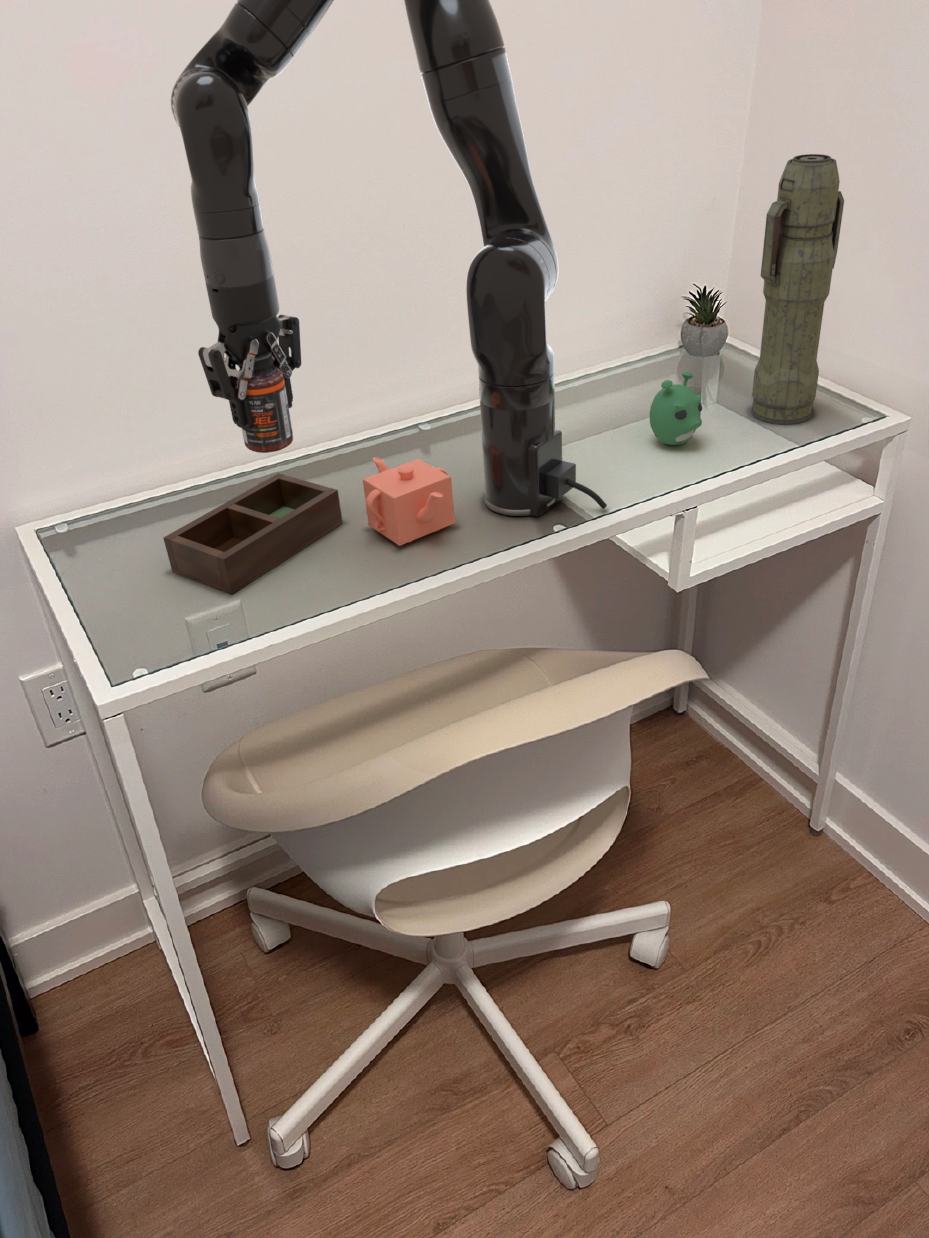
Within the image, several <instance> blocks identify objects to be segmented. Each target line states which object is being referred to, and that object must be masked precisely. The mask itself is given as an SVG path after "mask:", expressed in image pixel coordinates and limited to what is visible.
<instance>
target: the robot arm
mask: <svg viewBox="0 0 929 1238" xmlns="http://www.w3.org/2000/svg"><path fill="white" fill-rule="evenodd" d="M334 1H335V0H237V1H236V3H234V5H233V6H232V8H231V10H230V11H229V13H228V15H227V16H226V18H225V20H224V21H223V23H222V25H221V26H220V27H219V28H218V30H217V31H216V32H215V33H214V34H213V35H211V37H210V38H209V39H208V41H207V42H206V43H205V44H204V45H203V46H201V48H200V49H199V51H197V53H196V54H195V55H194V57H193V58H192V59H191V60H190V61H189V63H188V64H187V65H186V66H185V68H184V69H183V71H182V72H181V73H180V75H179V76H178V77H177V79H176V81H175V83H174V85H173V87H172V90H171V94H170V110H171V114H172V116H173V119H174V121H175V123H176V125H177V126H178V127H179V130H180V133H181V138H182V142H183V146H184V152H185V155H186V156H185V157H186V160H187V165H188V169H189V174H190V178H191V183H190V184H191V185H190V195H191V196H190V197H191V204H192V210H193V214H194V221H195V226H196V230H197V235H198V241H199V256H200V262H201V268H202V272H203V277H204V282H205V288H206V292H207V297H208V302H209V307H210V312H211V317H212V319H213V321H214V323H215V324H216V326H217V328H218V335H217V342H215V343H214V344H212V345H211V346H208V347H206V346H201V347H200V348H199V349H198V352H197V355H198V358H199V360H200V364H201V366H202V369H203V371H204V372H203V373H204V375H205V378H206V381H207V384H208V387H209V390H210V392H211V395H212V396H213V397H216V398H220V399H224V400H228V403H229V408H230V413H231V418H232V422H233V423H234V425H236V426H237V427H238V428H240V429H242V428H244V429H249V428H251V427H253V420H252V415H251V410H250V405H249V399H248V398H246V394H247V387H248V381H249V380H251V379H252V375H253V369H254V362H255V358H256V357H258V356H261V355H263V354H265V353H268V352H271V353H272V358H273V365H274V366H275V367H277V368H279V369H280V370H281V371H282V373H283V376H284V382H285V388H286V394H287V401H288V407H289V409H291V408H293V401H294V396H293V395H294V394H293V390H292V389H293V388H292V381H291V377H292V375H293V371H294V370H295V369H299V368H301V366H302V350H301V349H302V347H301V330H300V329H301V328H300V319H299V318H298V317H297V316H291V315H287V314H279V313H280V303H279V298H278V292H277V291H278V290H277V286H276V280H275V279H276V278H275V273H274V267H273V261H272V254H271V249H270V245H269V242H268V239H267V235H266V232H265V231H266V230H265V227H264V221H263V215H262V208H261V203H260V196H259V192H258V188H257V184H256V178H255V159H254V158H255V157H254V156H255V155H254V143H253V133H252V132H253V131H252V125H251V124H252V123H251V119H250V118H251V117H250V111H249V106H250V105H251V104H252V102H253V101H254V99H256V97H257V96H258V95H259V93H260V92H261V91H262V90H263V88H264V86H265V85H266V84H267V83H268V82H269V81H270V80H272V79H273V78H276V77H278V76H279V75H280V74H281V73H282V72H283V71H284V70H285V69H286V68H287V67H288V66H289V64H290V63H291V62H292V61H293V60H294V58H295V57H296V55H297V54H298V53H299V51H300V50H301V49H302V47H303V46H304V44H305V43H306V42H307V40H308V39H309V38H310V36H311V35H312V34H313V33H314V31H315V30H316V28H317V27H318V25H320V23H321V22H322V20H323V18H324V16H325V15H326V14H327V12H328V11H329V9H330V8H331V6H332V4H333V3H334ZM403 2H404V7H405V12H406V17H407V22H408V26H409V30H410V34H411V35H410V36H411V38H412V39H411V40H412V43H413V48H414V52H415V57H416V62H417V64H418V70H419V73H420V77H421V81H422V84H423V88H424V92H425V96H426V99H427V103H428V107H429V111H430V113H431V117H432V119H433V122H434V124H435V125H434V126H435V127H436V129H437V132H438V134H439V135H440V138H441V140H442V141H443V143H444V145H445V147H446V148H447V150H448V152H449V153H450V156H451V158H452V159H453V160H454V162H455V163H456V166H457V167H458V169H459V170H460V172H461V174H462V175H463V177H464V180H465V181H466V184H467V185H468V188H469V190H470V193H471V196H472V200H473V202H474V205H475V209H476V214H477V218H478V222H479V227H480V228H479V229H480V233H481V238H482V246H483V247H482V248H481V249H480V250H479V251H478V252H477V253H476V254H475V255H474V257H473V259H472V260H471V262H470V264H469V267H468V269H467V274H466V282H465V291H466V292H465V294H466V296H465V297H466V307H467V308H466V309H467V318H468V319H467V320H468V329H469V339H470V340H469V341H470V347H471V352H472V355H473V358H474V360H475V362H476V364H477V376H478V391H479V393H478V394H479V409H480V410H479V411H480V427H481V447H482V459H483V460H482V462H483V464H482V465H483V479H484V481H483V482H484V503H485V505H486V507H487V508H488V509H489V510H491V511H493V512H495V513H497V514H500V515H505V516H510V517H511V516H513V517H514V516H515V517H524V516H525V517H526V516H532V517H537V518H539V517H541V516H542V515H543V514H544V513H546V512H547V511H548V510H549V509H550V508H552V507H554V505H555V504H557V503H558V502H559V501H561V500H562V499H563V496H565V495H566V494H567V493H568V492H570V491H571V490H572V489H575V490H578V491H580V492H581V493H584V494H585V495H587V496H589V497H590V498H591V499H593V500H594V502H596V503H597V504H598V506H599V507H600V508H601V509H602V510H605V509H606V508H607V506H608V504H607V503H606V501H604V500H603V498H602V497H601V496H600V495H599V494H597V493H596V492H595V491H594V490H592V489H591V488H589V487H587V486H585V485H584V484H581V483H579V482H577V481H576V480H577V464H576V463H574V462H570V461H565V460H563V432H562V430H561V429H558V428H556V408H555V407H556V401H555V400H556V399H555V398H556V397H555V395H556V392H555V389H556V388H555V353H554V350H553V348H552V347H551V346H550V345H549V344H548V341H547V339H548V338H547V319H546V301H547V300H548V299H549V298H550V296H551V295H552V294H553V293H554V290H555V288H556V285H557V283H558V280H559V279H558V278H559V274H560V273H559V272H560V267H559V265H560V263H559V259H558V258H559V257H558V254H557V251H556V250H557V249H556V247H555V244H554V241H553V238H552V236H551V235H552V234H551V232H550V229H549V227H548V224H547V220H546V218H545V215H544V212H543V208H542V205H541V203H540V200H539V196H538V194H537V191H536V187H535V184H534V180H533V176H532V173H531V167H530V162H529V156H528V150H527V145H526V141H525V135H524V130H523V125H522V121H521V116H520V112H519V108H518V103H517V98H516V93H515V86H514V82H513V76H512V72H511V67H510V64H509V60H508V55H507V50H506V47H505V42H504V39H503V35H502V32H501V28H500V25H499V21H498V19H497V16H496V14H495V12H494V9H493V7H492V5H491V2H490V0H403ZM278 314H279V315H278ZM277 315H278V316H277ZM236 366H237V367H238V366H241V367H243V368H242V370H241V371H239V369H237V367H236ZM237 378H238V382H237V388H236V387H235V385H236V379H237Z"/></svg>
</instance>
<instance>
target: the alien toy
mask: <svg viewBox="0 0 929 1238" xmlns="http://www.w3.org/2000/svg"><path fill="white" fill-rule="evenodd" d="M681 376H682V377H683V379H684V380H683V383H682V384H679V383H678V384H673V383H674V382H673V381H672V380H670V379H666V380H663V381H662V382H661V384H660V387H661V389H660V390H659V391H658V392H657V393H656V394H655V396H654V397H653V400H652V401H651V404H650V409H649V425H650V428H651V430H652V433H653V435H654V436H655V438H656V439H658V440H659V441H660V442H661V443H662V444H664V445H668V446H679V445H683V444H685V443H687V442H689V440H691V438H693V435H694V433H695V432H696V430H697V429H698V428H700V427H701V426H702V424H703V420H702V417H701V414H702V413H701V412H702V410H703V405H702V403H701V402H702V395H701V394H696V393H695V392H694V390H692V389H691V388H690V386H689V387H688V385H687V384H688V382H689V379H692V378H693V377H694V374H693V373H692V372H690V371H687V370H686V371H683V372H682V373H681Z"/></svg>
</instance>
